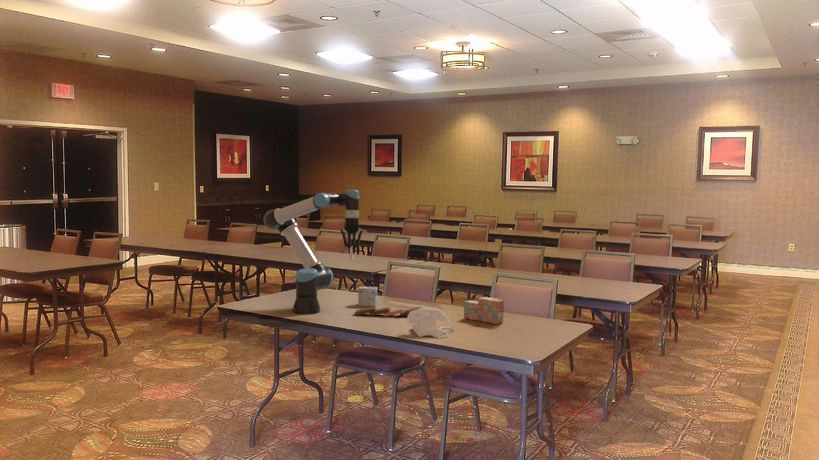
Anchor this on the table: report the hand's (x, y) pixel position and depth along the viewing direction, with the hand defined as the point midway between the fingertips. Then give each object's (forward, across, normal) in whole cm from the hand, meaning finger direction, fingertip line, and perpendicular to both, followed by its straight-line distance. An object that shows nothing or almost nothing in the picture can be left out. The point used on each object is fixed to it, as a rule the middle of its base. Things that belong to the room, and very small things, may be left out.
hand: (351, 259), depth 359 cm
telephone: (+30, +50, -44) cm, 73 cm away
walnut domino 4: (+29, +33, -7) cm, 44 cm away
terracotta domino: (+29, +20, -8) cm, 36 cm away
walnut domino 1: (+29, +4, -8) cm, 30 cm away
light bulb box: (+30, +6, +20) cm, 36 cm away
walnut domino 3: (+28, +29, -7) cm, 41 cm away
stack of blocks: (+30, +74, -9) cm, 80 cm away
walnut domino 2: (+29, +12, -8) cm, 32 cm away
